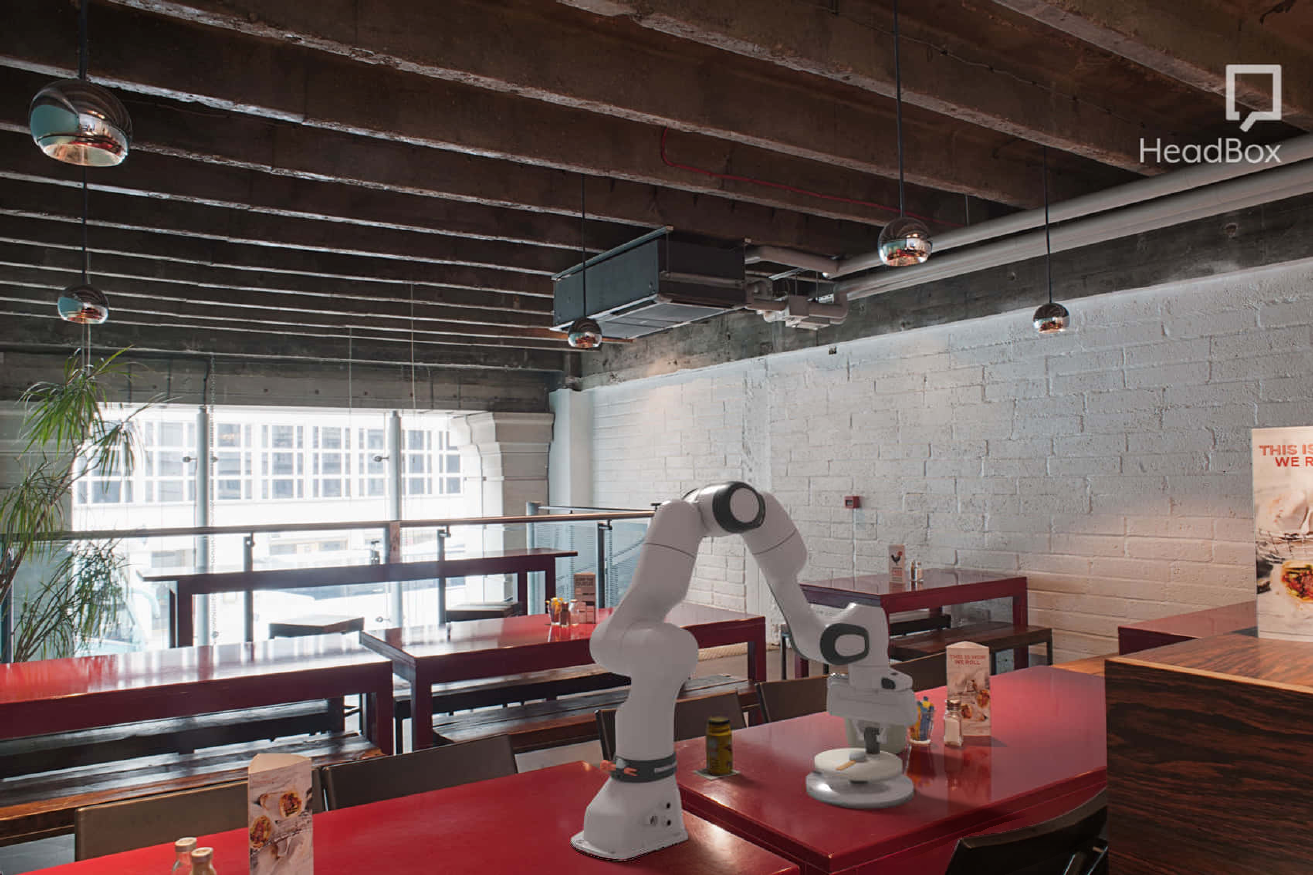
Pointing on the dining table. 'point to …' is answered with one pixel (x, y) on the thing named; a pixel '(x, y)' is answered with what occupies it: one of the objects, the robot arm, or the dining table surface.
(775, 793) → the dining table surface
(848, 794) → the disc
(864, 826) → the dining table surface
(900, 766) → the handwheel
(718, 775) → the condiment
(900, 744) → the canister
